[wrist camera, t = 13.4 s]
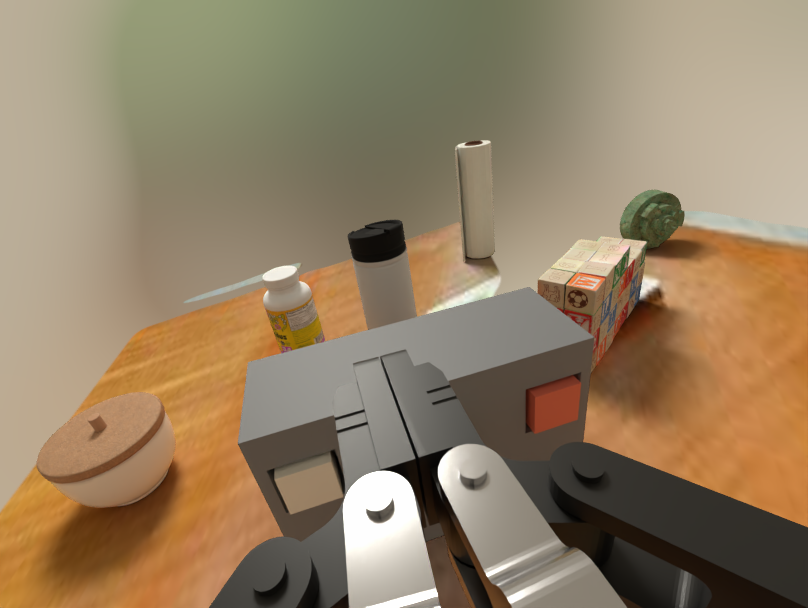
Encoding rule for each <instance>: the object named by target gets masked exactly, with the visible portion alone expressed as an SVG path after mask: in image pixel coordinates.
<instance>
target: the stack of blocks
mask: <svg viewBox="0 0 808 608" xmlns="http://www.w3.org/2000/svg"><path fill="white" fill-rule="evenodd" d="M646 248H647V242H646V241H638V240H630V239H618V238H610V237H600V238H599V239H598V240H597V241H589V240H581V239H580V240H578V241H577V242H576V243H575V244H574V245H573V247H571V249H570V250H569V251H568V252H567V253H566V254H565V255H564V256H563V257H562V258H560V259H559V260H558V261H557V262H556V263H555V264H554V265H553V266H552V267H551V268H550V269H548V270H547V271H546V272H545V273H544V274H543V275H542V276H541V277H540V278H539V279H538V294H539V295H540V296H542V297H543V298H544V299H546V300H547V301H548V302H549V303H551V304H552V305H553V306H555V307H556V308H557V309H559V310H560V311H561V312H562V313H564V314H565V315H566V316H568V317H569V318H570V319H571V320H573V321H574V322H575V323H577V324H578V325H579V326H581V327H582V328H583V329H584V330H586V331H587V332H588V333H590V334H591V335H592V336H594V346H593V355H592V365H591V372H592V371H593V369H594V368H595V367H596V366H597V365H598V363H599V362H600V360H601V359H602V357H603V356H604V354H605V352H606V351H607V350H608V348H609V347H610V345H611V343H612V342H613V339H614V337H615V335H616V334H617V332H618V331H619V328H620V327H621V325H622V324H623V322H624V321H625V319H626V318H628V316H629V314H630V313H631V311H632V310H633V308H634V307H635V305H636V303H637V302H638V300H639V297H640V290H641V285H642V279H643V273H644V266H645V262H644V260H645V254H646Z"/></svg>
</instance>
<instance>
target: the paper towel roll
mask: <svg viewBox="0 0 808 608" xmlns="http://www.w3.org/2000/svg"><path fill="white" fill-rule="evenodd" d="M455 160H456V171H457V172H456V173H457V185H458V198H459V211H460V224H461V237H462V250H463V262H464V261H465V255H466V256H467V257H470V258H485V257H489V256H491V255H493V253H494V252H495V244H494V215H493V187H492V158H491V142H490V141H472V142H467V143H462V144H459V145H458V146H456V150H455Z"/></svg>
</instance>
